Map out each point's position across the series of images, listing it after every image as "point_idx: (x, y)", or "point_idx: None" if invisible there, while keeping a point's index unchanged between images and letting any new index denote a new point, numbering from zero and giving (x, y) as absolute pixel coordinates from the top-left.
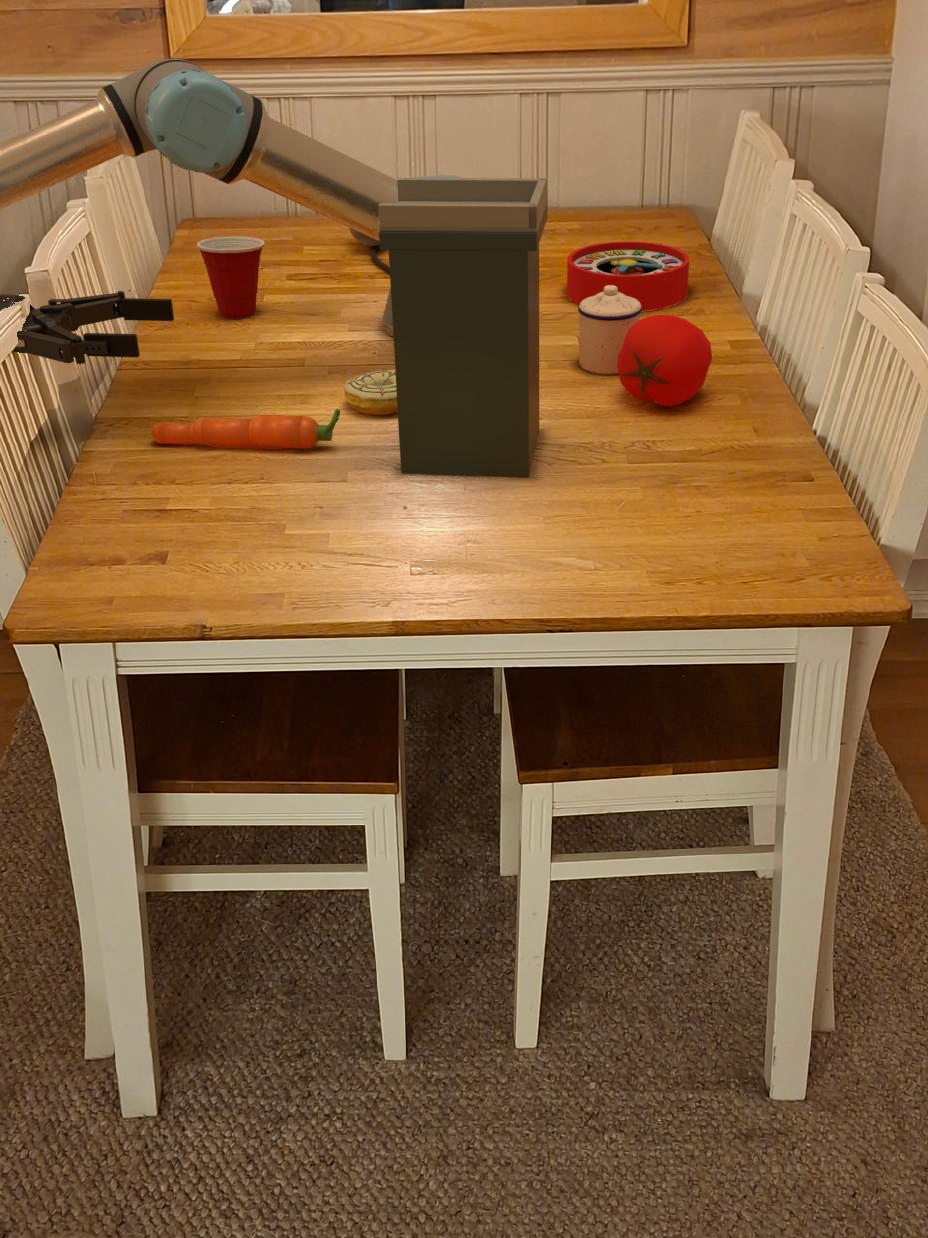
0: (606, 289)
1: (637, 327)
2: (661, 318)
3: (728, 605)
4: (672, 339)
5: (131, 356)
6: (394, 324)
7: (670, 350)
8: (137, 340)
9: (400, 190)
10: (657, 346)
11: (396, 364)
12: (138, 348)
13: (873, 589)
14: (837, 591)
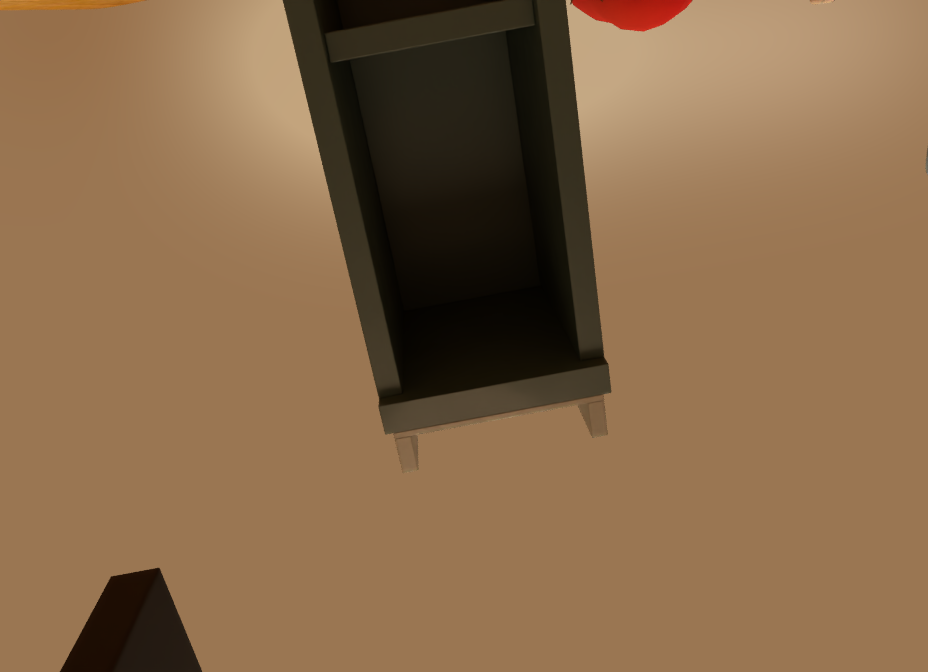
0: (817, 1)
1: (641, 17)
2: (638, 30)
3: (25, 7)
4: (596, 17)
5: (92, 617)
6: (346, 260)
7: (581, 7)
8: (194, 658)
9: (588, 417)
10: (593, 8)
11: (325, 174)
12: (173, 612)
13: (127, 2)
14: (109, 2)
